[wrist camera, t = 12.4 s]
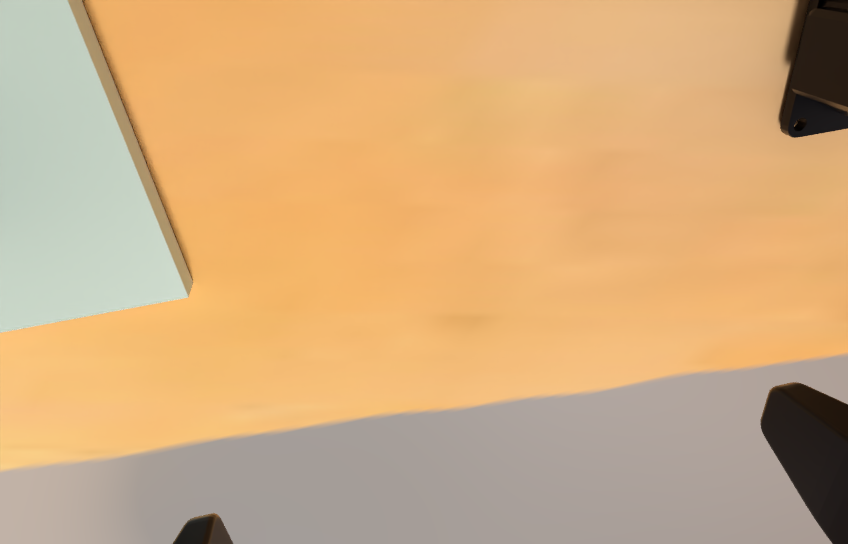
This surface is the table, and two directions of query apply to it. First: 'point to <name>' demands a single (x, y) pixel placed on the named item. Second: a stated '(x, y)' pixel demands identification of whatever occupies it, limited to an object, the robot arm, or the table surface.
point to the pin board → (73, 179)
